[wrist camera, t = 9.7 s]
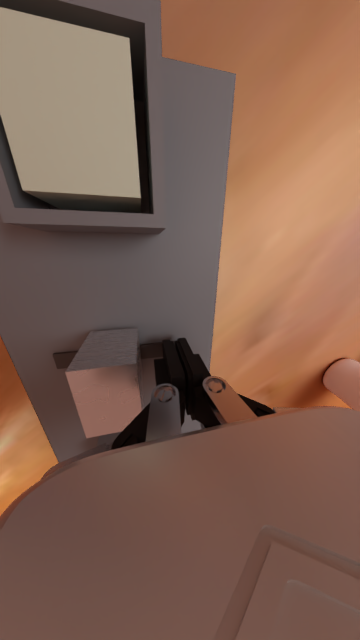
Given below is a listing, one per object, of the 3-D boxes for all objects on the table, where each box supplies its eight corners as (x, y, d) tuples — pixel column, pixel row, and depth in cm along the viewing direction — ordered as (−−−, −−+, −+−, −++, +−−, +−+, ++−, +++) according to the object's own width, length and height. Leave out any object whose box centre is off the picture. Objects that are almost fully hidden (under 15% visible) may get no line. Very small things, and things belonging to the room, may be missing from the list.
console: (-60, 72, 8) (-466, -286, 3) (212, 117, 11) (283, -15, 5) (79, 454, 20) (56, 531, 14) (194, 429, 22) (211, 487, 17)
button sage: (34, 96, 7) (-34, -2, 4) (133, 112, 8) (129, 37, 5) (60, 209, 9) (22, 190, 6) (140, 213, 9) (140, 197, 7)
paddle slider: (90, 331, 11) (65, 372, 7) (137, 327, 11) (136, 363, 8) (102, 384, 13) (86, 438, 9) (143, 378, 13) (143, 427, 10)
